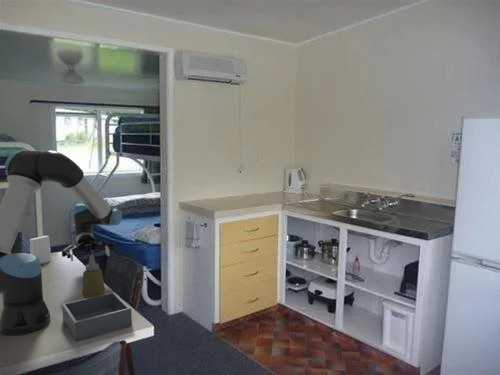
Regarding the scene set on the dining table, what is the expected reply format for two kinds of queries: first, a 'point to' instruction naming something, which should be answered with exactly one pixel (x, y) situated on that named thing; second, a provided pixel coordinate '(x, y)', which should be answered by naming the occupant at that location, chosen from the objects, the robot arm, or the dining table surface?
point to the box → (96, 315)
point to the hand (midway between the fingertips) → (90, 255)
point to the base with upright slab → (41, 248)
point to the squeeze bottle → (92, 280)
